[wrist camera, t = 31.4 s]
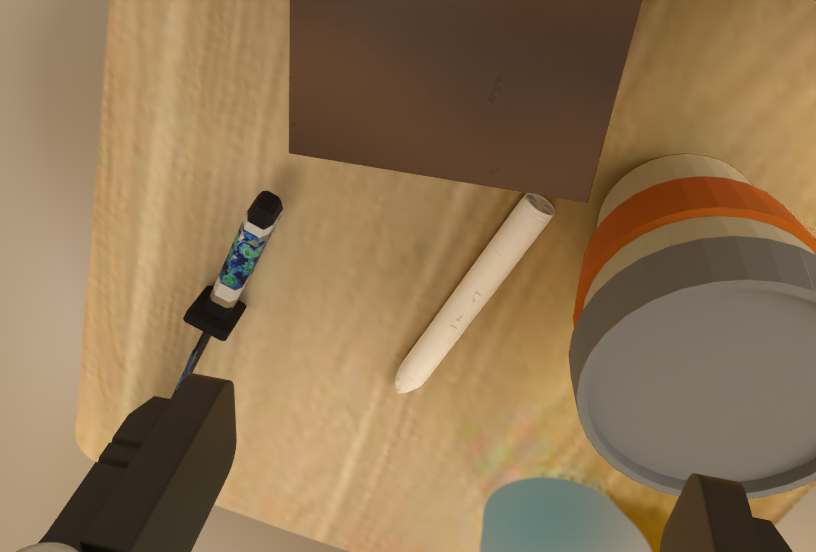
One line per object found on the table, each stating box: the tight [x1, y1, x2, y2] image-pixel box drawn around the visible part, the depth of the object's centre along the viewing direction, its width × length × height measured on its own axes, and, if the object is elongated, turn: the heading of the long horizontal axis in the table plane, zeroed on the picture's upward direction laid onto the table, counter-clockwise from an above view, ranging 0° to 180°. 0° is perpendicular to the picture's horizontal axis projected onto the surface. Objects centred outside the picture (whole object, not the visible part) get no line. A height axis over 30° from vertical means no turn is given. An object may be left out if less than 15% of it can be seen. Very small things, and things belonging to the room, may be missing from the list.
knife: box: [171, 191, 283, 398], centre depth 51 cm, size 31×3×4 cm, turn 148°
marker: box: [395, 193, 555, 394], centre depth 47 cm, size 18×2×2 cm, turn 152°
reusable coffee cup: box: [569, 154, 816, 499], centre depth 36 cm, size 12×13×15 cm
